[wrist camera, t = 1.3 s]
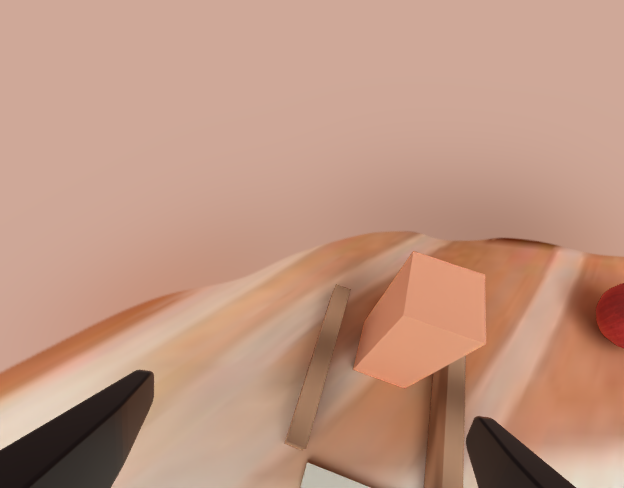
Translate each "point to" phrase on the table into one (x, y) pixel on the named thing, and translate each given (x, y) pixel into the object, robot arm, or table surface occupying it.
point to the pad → (326, 479)
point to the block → (423, 321)
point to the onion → (612, 315)
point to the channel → (443, 411)
